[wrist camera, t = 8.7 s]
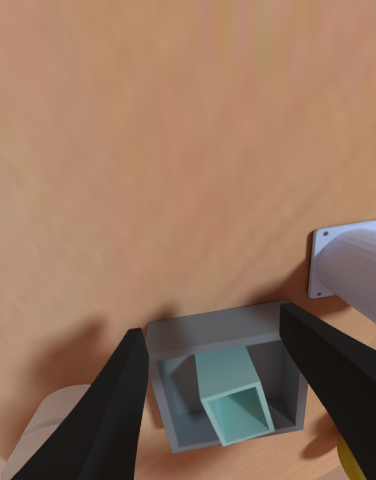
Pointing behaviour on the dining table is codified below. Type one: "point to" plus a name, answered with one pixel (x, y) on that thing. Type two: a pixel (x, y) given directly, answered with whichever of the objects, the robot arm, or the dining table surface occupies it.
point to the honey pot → (43, 426)
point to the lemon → (349, 461)
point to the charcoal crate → (214, 339)
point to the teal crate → (232, 395)
